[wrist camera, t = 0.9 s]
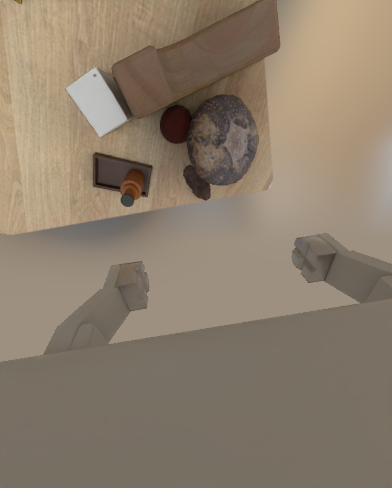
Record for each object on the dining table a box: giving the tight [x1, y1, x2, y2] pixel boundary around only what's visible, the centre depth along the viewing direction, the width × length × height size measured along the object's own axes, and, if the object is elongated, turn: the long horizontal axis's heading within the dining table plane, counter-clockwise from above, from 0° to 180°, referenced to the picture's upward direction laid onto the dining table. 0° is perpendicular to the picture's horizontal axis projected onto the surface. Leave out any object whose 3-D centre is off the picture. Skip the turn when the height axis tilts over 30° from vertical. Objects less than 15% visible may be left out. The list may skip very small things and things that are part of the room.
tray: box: [93, 153, 152, 197], centre depth 51 cm, size 14×8×3 cm, turn 75°
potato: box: [160, 105, 192, 144], centre depth 45 cm, size 7×8×7 cm
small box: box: [65, 66, 135, 137], centre depth 38 cm, size 8×6×13 cm
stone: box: [183, 167, 210, 200], centre depth 55 cm, size 11×2×5 cm
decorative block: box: [112, 0, 280, 119], centre depth 36 cm, size 15×8×30 cm
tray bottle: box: [120, 169, 144, 207], centre depth 46 cm, size 5×5×16 cm
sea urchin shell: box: [187, 95, 259, 186], centre depth 46 cm, size 19×19×10 cm
